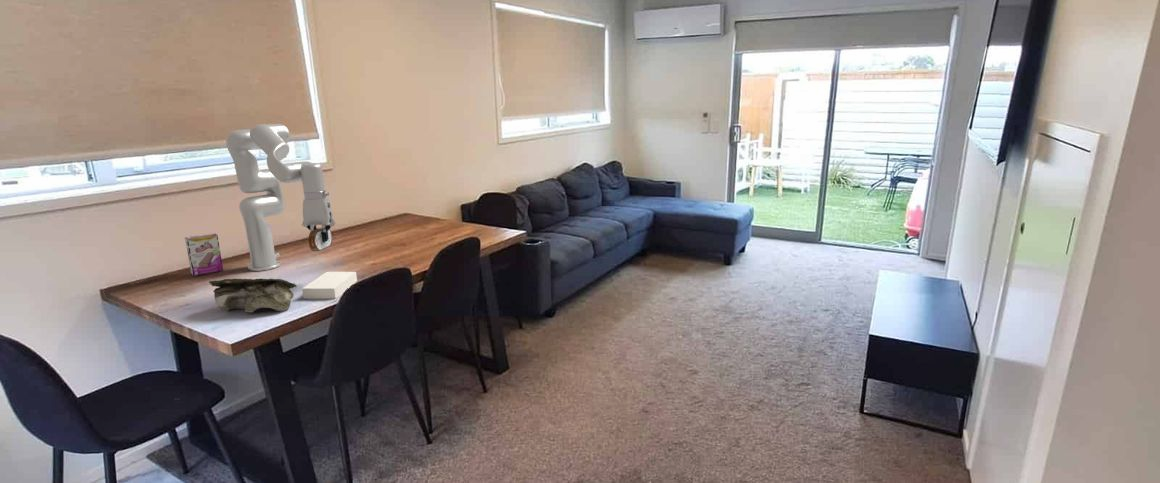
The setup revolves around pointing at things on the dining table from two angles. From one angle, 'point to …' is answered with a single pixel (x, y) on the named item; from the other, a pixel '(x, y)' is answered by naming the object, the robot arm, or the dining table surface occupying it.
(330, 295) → the plinth
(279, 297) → the hollow geode rock
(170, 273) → the dining table surface
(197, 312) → the dining table surface
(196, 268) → the candy bar box
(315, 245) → the tin
